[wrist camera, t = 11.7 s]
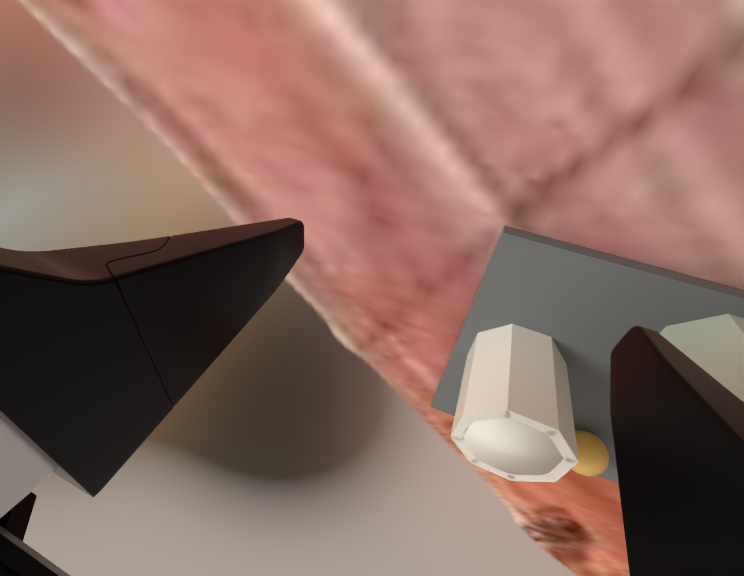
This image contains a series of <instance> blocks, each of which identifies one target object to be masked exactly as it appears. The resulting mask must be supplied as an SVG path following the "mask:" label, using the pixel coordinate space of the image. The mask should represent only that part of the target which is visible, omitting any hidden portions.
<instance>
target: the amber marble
mask: <svg viewBox="0 0 744 576" xmlns="http://www.w3.org/2000/svg"><path fill="white" fill-rule="evenodd" d="M575 437H576V445H577V453H578V461H579V462H578V463H577V464H576V465H575V466H574V467H572V468H571V469H572V470H573V471H575V472H577V473H579V474H581V475H584V476H597V475H599V474H601V473H603V472H604V471H605V470H606V469H607V467H608V464H609V454H608V450H607V448H606V446H605V445H604V443H603V442H602V441H601V440H600V439H599V438H598V437H597V436H595V435H594V434H592V433H589V432H587V431H583V430H575Z"/></svg>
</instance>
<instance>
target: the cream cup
mask: <svg viewBox="0 0 744 576" xmlns="http://www.w3.org/2000/svg"><path fill="white" fill-rule="evenodd" d="M451 438H452V439H453V441H454V442H455V443H456V445H457V446H458V447H459V448H460V450H461V451H462V452H463V454H464V455H465V456H466V458H467V459H468V460H469V461H470V463H472V464H474V465H476V466H479V467H481V468H483V469H486V470H488V471H490V472H492V473H495V474H497V475H499V476H501V477H504V478H506V479H508V480H510V481H534V482H556V481H557V480H559V479H560V478H561V477H562V476H563V475H564V474H566V473H567V472H568V471H569V470H570V469H571V468H572V467H574V466H575V465H576V464H577V463H578V462H579V461H578V453H577V445H576V437H575V429H574V421H573V413H572V405H571V397H570V389H569V381H568V373H567V365H566V362H565V360H564V359H563V357H562V355H561V353H560V352H559V350H558V348H557V346H556V344H555V343H554V341H553V339H552V337H551V336H548V335H545V334H542V333H539V332H536V331H533V330H530V329H527V328H524V327H521V326H518V325H515V324H509V325H506V326H502V327H498V328H494V329H490V330H486V331H483V332H479V333H478V334H477V336H476V338H475V340H474V342H473V344H472V346H471V349H470V351H469V353H468V355H467V359H466V364H465V369H464V374H463V379H462V384H461V389H460V393H459V398H458V403H457V408H456V413H455V418H454V423H453V428H452V433H451Z"/></svg>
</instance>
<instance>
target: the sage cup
mask: <svg viewBox="0 0 744 576" xmlns="http://www.w3.org/2000/svg"><path fill="white" fill-rule="evenodd" d="M659 334H660V335H662V336H663V337H664V338H665V339H667V340H668V341H669V342H670V343H672V344H673V345H674V346H675V347H676V348H678V349H679V350H680V351H681V352H683V353H684V354H685V355H686V356H688V357H689V358H690V359H691V360H692V361H694V362H695V363H696V364H697V365H699V366H700V367H701V368H702V369H704V370H705V371H706V372H707V373H708V374H710V375H711V376H712V377H713V378H715V379H716V380H717V381H718V382H720V383H721V384H722V385H723V386H724V387H726V388H727V389H728V390H729V391H731V392H732V393H733V394H734V395H736V396H737V397H738V398H739V399H740V400H742V401H743V402H744V318H742V317H738V316H735V315H731V314H724V315H719V316H714V317H709V318H704V319H699V320H694V321H689V322H685V323H680V324H675V325H670V326H666V327H665V328H664V329H663V330H662V331H661V332H660V333H659Z"/></svg>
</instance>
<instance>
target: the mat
mask: <svg viewBox="0 0 744 576" xmlns="http://www.w3.org/2000/svg"><path fill="white" fill-rule="evenodd" d="M724 314H731V315H735V316H738V317H742V318H744V290H740V289H736V288H733V287H729V286H725V285H722V284H718V283H714V282H711V281H707V280H703V279H699V278H696V277H692V276H688V275H685V274H681V273H677V272H673V271H670V270H666V269H662V268H659V267H655V266H651V265H648V264H644V263H640V262H636V261H633V260H629V259H625V258H622V257H618V256H614V255H611V254H607V253H603V252H599V251H596V250H592V249H588V248H585V247H581V246H577V245H573V244H570V243H566V242H562V241H559V240H555V239H551V238H548V237H544V236H540V235H536V234H533V233H529V232H525V231H522V230H518V229H514V228H510V227H507V226H504V228H503V231H502V233H501V235H500V238H499V240H498V243H497V245H496V247H495V250H494V252H493V255H492V257H491V260H490V262H489V264H488V267H487V269H486V272H485V274H484V276H483V279H482V281H481V284H480V286H479V289H478V291H477V293H476V296H475V298H474V301H473V303H472V305H471V308H470V310H469V313H468V315H467V317H466V320H465V322H464V325H463V327H462V330H461V332H460V334H459V337H458V339H457V342H456V344H455V346H454V349H453V351H452V354H451V356H450V359H449V361H448V363H447V366H446V368H445V371H444V373H443V375H442V378H441V380H440V383H439V385H438V387H437V390H436V392H435V395H434V397H433V400H432V404H431V407H434V408H436V409H438V410H441V411H443V412H446V413H448V414H450V415H453V416H455V413H456V408H457V403H458V398H459V393H460V389H461V384H462V379H463V374H464V369H465V364H466V359H467V355H468V353H469V351H470V349H471V346H472V344H473V342H474V340H475V338H476V336H477V334H478V333H479V332H483V331H486V330H490V329H494V328H498V327H502V326H506V325H509V324H515V325H518V326H521V327H524V328H527V329H530V330H533V331H536V332H539V333H542V334H545V335H548V336H551V337H552V339H553V341H554V343H555V344H556V346H557V348H558V350H559V352H560V353H561V355H562V357H563V359H564V360H565V362H566V365H567V373H568V381H569V389H570V397H571V405H572V413H573V421H574V429H575V430H583V431H587V432H589V433H592V434H594V435H595V436H597V437H598V438H599V439H600V440H601V441H602V442H603V443H604V445H605V446H606V448H607V450H608V454H609V464H608V467H607V469H606V470H605V471H604V472H603V473H601V474H599V475H598V476H601V477H603V478H606V479H608V480H611V481H613V482H615V483H618V484H619V482H618V474H617V466H616V458H615V449H614V441H613V433H612V425H611V416H610V356H611V352H612V350H613V348H614V347H615V346H616V344H617V343H618V342H619V341H620V340H621V339H622V337H623V336H624V335H625V334H626V333H627V332H628V331H629V330H630V329H631V328H632V327H634V326H642V327H645V328H648V329H651V330H654V331H657V332H658V333H660V332H661V331H662V330H663V329H664V328H665V327H666V326H670V325H675V324H680V323H685V322H689V321H694V320H699V319H704V318H709V317H714V316H719V315H724Z"/></svg>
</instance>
